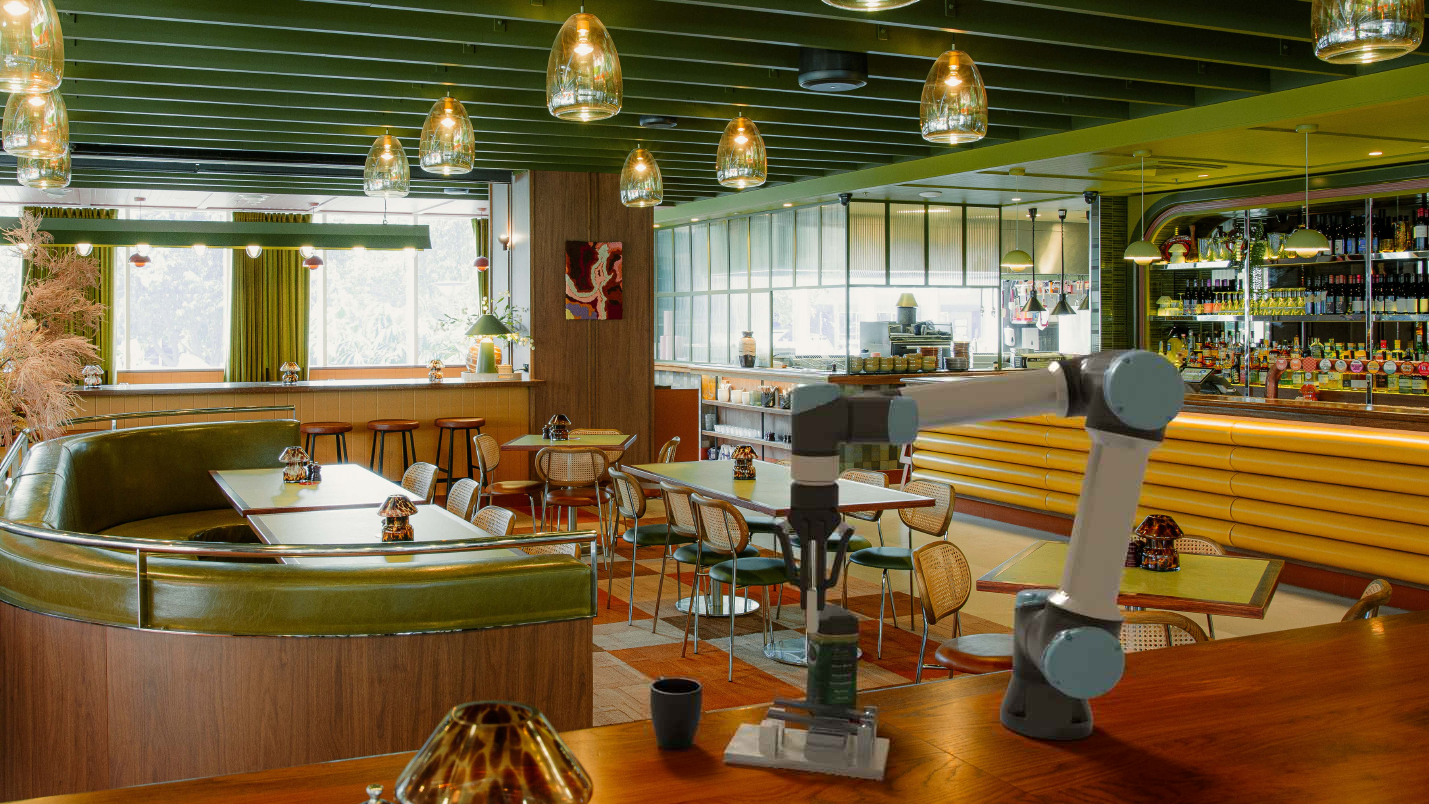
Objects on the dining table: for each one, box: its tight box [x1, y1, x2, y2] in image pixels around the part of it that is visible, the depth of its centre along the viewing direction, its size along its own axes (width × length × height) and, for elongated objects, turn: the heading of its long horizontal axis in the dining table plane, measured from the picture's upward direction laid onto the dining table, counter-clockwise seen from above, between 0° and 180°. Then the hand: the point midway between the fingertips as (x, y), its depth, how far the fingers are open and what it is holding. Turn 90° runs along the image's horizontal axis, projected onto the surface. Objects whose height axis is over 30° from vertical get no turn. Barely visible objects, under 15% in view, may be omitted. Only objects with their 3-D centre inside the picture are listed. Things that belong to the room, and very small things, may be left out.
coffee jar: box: [805, 603, 860, 720], centre depth 188 cm, size 10×8×19 cm
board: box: [723, 705, 890, 781], centre depth 169 cm, size 24×13×7 cm, turn 77°
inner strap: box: [773, 696, 875, 721], centre depth 172 cm, size 16×2×2 cm, turn 77°
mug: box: [649, 675, 703, 752], centre depth 174 cm, size 8×12×10 cm
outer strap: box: [766, 709, 872, 734], centre depth 166 cm, size 16×2×2 cm, turn 77°
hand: (812, 630), depth 172 cm, fingers closed
